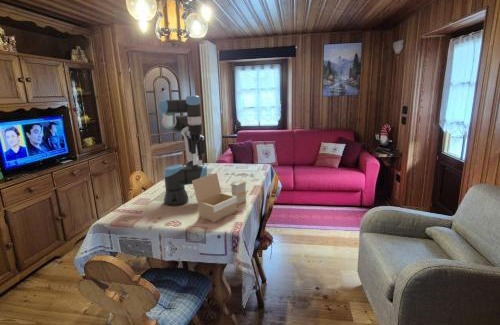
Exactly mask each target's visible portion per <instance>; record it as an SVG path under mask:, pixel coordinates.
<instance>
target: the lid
mask: <svg viewBox="0 0 500 325" xmlns="http://www.w3.org/2000/svg"><path fill="white" fill-rule="evenodd" d="M192 183H193V184H192V187H193V190H194V194H195V198H196V202H197V203H198V202H199V201H201V200H204V199H206V198H209V197H211V196H214V195H217V194H219V193H222V190H221V185H220V181H219V176H218V173H217V172H215V173H213V174H207V176H205V177H202V178H199V179H196V180H193V181H192Z"/></svg>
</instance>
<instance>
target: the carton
mask: <svg viewBox="0 0 500 325" xmlns="http://www.w3.org/2000/svg"><path fill="white" fill-rule="evenodd" d="M197 203H198V217H199V218H201V219H204V220H206V221H209V222H212V223H216V222H219V221H221V220H223V219H225V218H226V217H229V216H231V215H233V214H235V213H237V212H238V205H237V197H236V196H232V194H228V193H224V192H221V193H219V194H217V195H214V196H211V197H209V198H206V199H204V200H201V201H199V202H197Z"/></svg>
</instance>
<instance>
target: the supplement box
mask: <svg viewBox="0 0 500 325" xmlns="http://www.w3.org/2000/svg"><path fill="white" fill-rule="evenodd" d="M230 184H231V195H232V196H236V197H237V206H239V205H241V204H243V203H245V202H247V191H246V190H247V189H246V188H247V187H246V181H245V180H238V181H235V182H233V183H230Z"/></svg>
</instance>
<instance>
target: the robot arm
mask: <svg viewBox="0 0 500 325" xmlns="http://www.w3.org/2000/svg"><path fill="white" fill-rule="evenodd" d="M157 104H158V112H159V114H161V115H162V119H161V124H162V126H163V128H164V129H166V130H167V131H169V132H171V133H181V135H182V136H183V138H184V146H185V152H186V159H187V162H186V164H185V166H184V165H183V164H182V163H179V164H178V163H177V164H172V165H169V166H167V167H165V168H164V171H163V177H164V186H165V194H164V198H163V203H164V205H166V206H168V207H169V206H170V207H173V206H174V207H175V206H181V205H185V204H186V203H188V202H189V195H188V193H187V190H186V188H185V186H189V185H193V183H192V181H193V180H196V179H199V178H202V177H205V176H208V167H207V166H208V165H207V164H204V161H203V154H205V151H206V150H205V147H206V145H205V139H206V136H205V135H204V136H203V135H202V131H203V130H202V129H203V128H202V127H203V126H202V123H203V122H202V114H201V113H202V111H201V98H200V96H199V95H186V97H185V99H162V100H158V102H157ZM176 114H186V115H176Z"/></svg>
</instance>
